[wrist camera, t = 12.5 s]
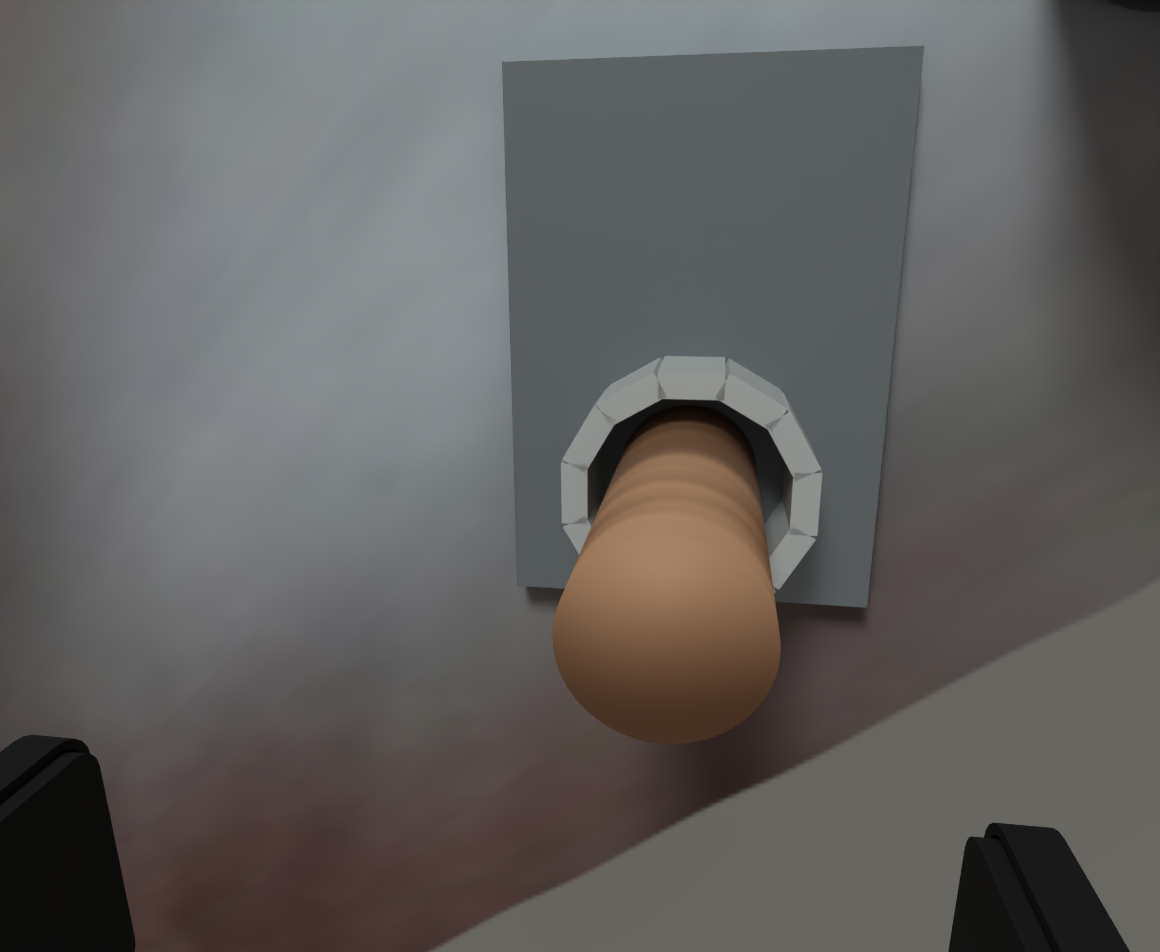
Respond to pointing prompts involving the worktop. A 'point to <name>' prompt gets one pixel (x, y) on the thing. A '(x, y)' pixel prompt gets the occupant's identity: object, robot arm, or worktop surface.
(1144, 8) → the supplement bottle
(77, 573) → the worktop surface
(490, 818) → the worktop surface
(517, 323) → the bracket board
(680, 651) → the rail post
